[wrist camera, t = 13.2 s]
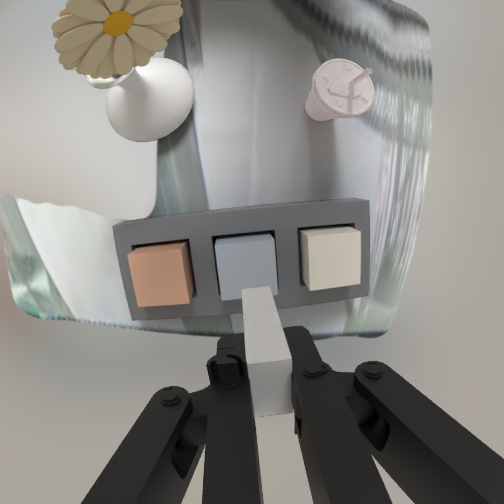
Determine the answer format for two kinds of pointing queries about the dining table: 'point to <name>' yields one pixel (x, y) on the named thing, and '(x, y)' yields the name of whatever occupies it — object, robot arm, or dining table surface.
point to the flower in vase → (128, 61)
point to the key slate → (245, 263)
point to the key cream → (329, 256)
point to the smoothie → (339, 91)
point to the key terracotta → (162, 273)
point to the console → (241, 221)
